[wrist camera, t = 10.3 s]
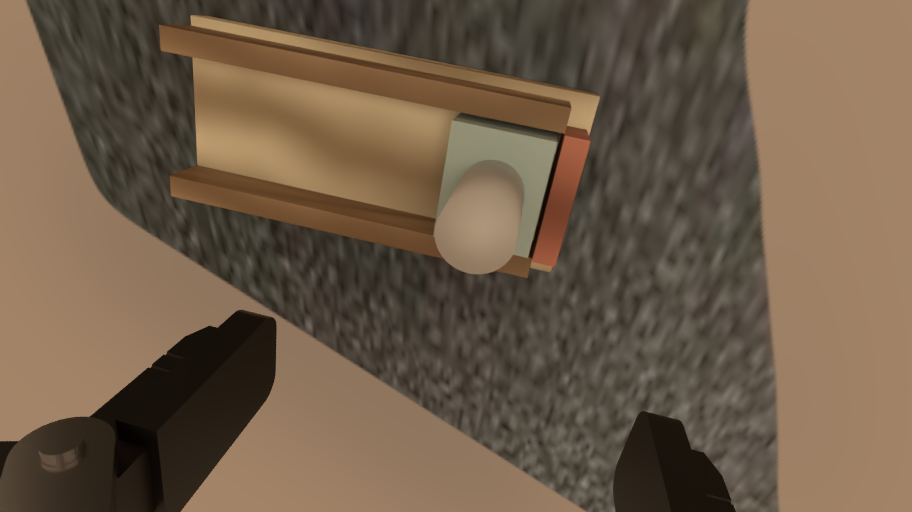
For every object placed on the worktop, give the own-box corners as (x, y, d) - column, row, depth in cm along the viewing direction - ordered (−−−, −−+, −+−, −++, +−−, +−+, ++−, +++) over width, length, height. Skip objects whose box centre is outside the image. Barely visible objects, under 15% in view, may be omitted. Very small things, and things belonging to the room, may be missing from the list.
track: (207, 15, 29) (151, 13, 25) (597, 93, 27) (606, 104, 23) (213, 185, 33) (165, 206, 29) (550, 261, 31) (550, 296, 27)
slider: (462, 111, 27) (423, 146, 19) (556, 130, 26) (559, 175, 18) (443, 217, 29) (402, 289, 21) (530, 236, 29) (521, 317, 21)
